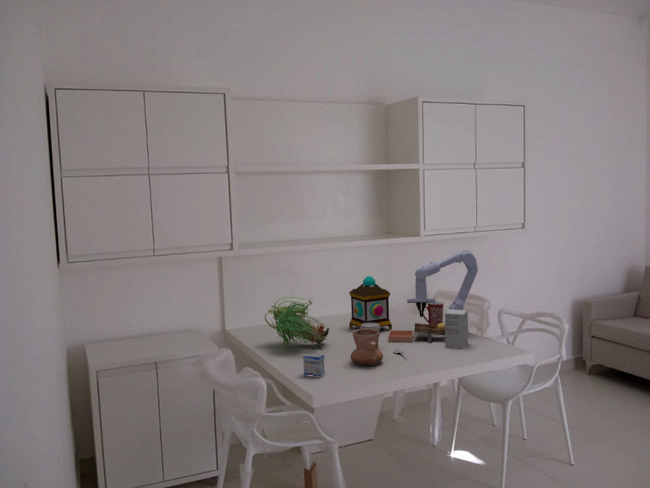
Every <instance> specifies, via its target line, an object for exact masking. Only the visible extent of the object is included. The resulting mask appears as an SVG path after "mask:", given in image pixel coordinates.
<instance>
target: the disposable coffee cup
mask: <svg viewBox="0 0 650 488" xmlns="http://www.w3.org/2000/svg"><path fill="white" fill-rule="evenodd" d="M360 329H374V330H377V331H379V332H380V329H381V327H380V325H379V324H378V323H364V324H362V325H361V328H360ZM376 348H377V349H378V350H379V342H378V343H377V345H376Z"/></svg>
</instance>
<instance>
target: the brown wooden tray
mask: <svg viewBox="0 0 650 488" xmlns="http://www.w3.org/2000/svg"><path fill="white" fill-rule="evenodd" d="M437 326H438V325H429V323H427V324H426V323H418V322H415V323H414V330H413V333H418V334H419V333H420V334H425V335H426V334H427V333H431V335H437V336H444V337H445V330H440V329H438V328H437Z"/></svg>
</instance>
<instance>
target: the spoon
mask: <svg viewBox="0 0 650 488" xmlns="http://www.w3.org/2000/svg"><path fill="white" fill-rule="evenodd" d="M396 352H397V353H400V355H402V356H403V358H404V360H405V359H406V360H409V359H410V358H408V356H406V355H405V354H404V351H402V350H401V349H399V348H394V349H393V353H395V354H397V353H396ZM406 360H405V361H406Z"/></svg>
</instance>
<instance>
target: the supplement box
mask: <svg viewBox="0 0 650 488" xmlns="http://www.w3.org/2000/svg"><path fill="white" fill-rule="evenodd" d="M468 312H469V311H468V310H466V309H465V310H464V309H463V310H453V309H449V308H448V310H447V311H446V312H445V313H444V325H445V336H444V337H445V338H444V343H445V348H452V349H454V348H455V349H463V350H464V349H465V348H466V347H467V346H468V345H469V327H468V326H469V316H468V314H469V313H468Z"/></svg>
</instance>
